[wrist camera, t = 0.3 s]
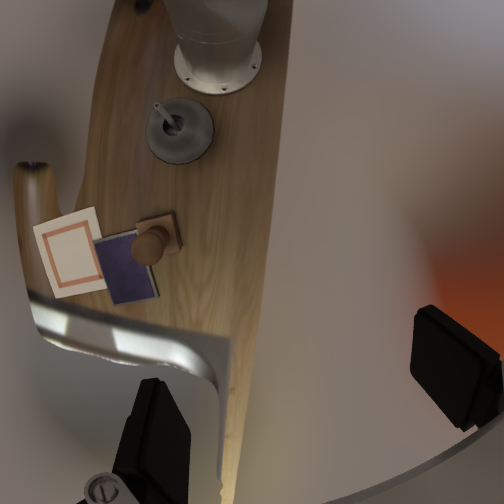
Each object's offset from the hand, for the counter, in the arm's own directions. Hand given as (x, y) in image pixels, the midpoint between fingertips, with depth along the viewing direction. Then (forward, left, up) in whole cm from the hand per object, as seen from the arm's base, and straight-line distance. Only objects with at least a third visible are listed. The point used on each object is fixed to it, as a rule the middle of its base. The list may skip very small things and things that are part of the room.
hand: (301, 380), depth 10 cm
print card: (0, -28, -35) cm, 44 cm away
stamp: (0, -12, -35) cm, 37 cm away
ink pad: (+4, -19, -35) cm, 40 cm away
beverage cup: (-12, -5, -35) cm, 37 cm away
